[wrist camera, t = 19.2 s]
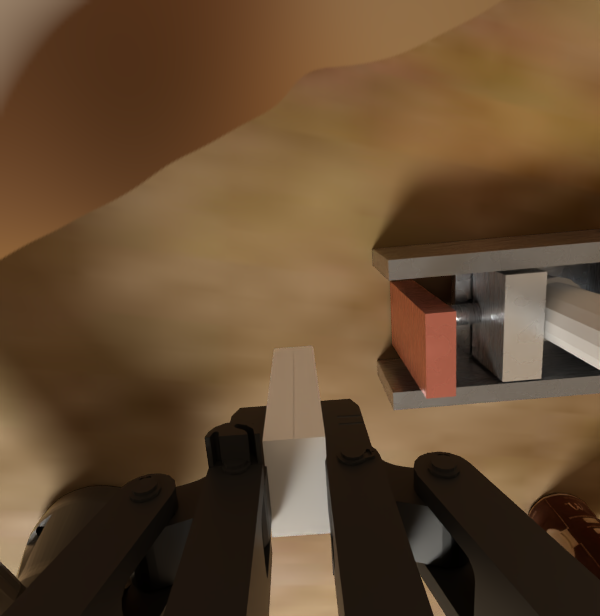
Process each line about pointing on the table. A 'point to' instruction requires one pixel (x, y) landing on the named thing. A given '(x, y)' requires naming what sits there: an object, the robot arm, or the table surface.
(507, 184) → the table surface
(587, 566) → the coffee cup
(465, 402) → the grey open box
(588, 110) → the table surface
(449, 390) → the jaw
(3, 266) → the table surface
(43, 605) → the robot arm
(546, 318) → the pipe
